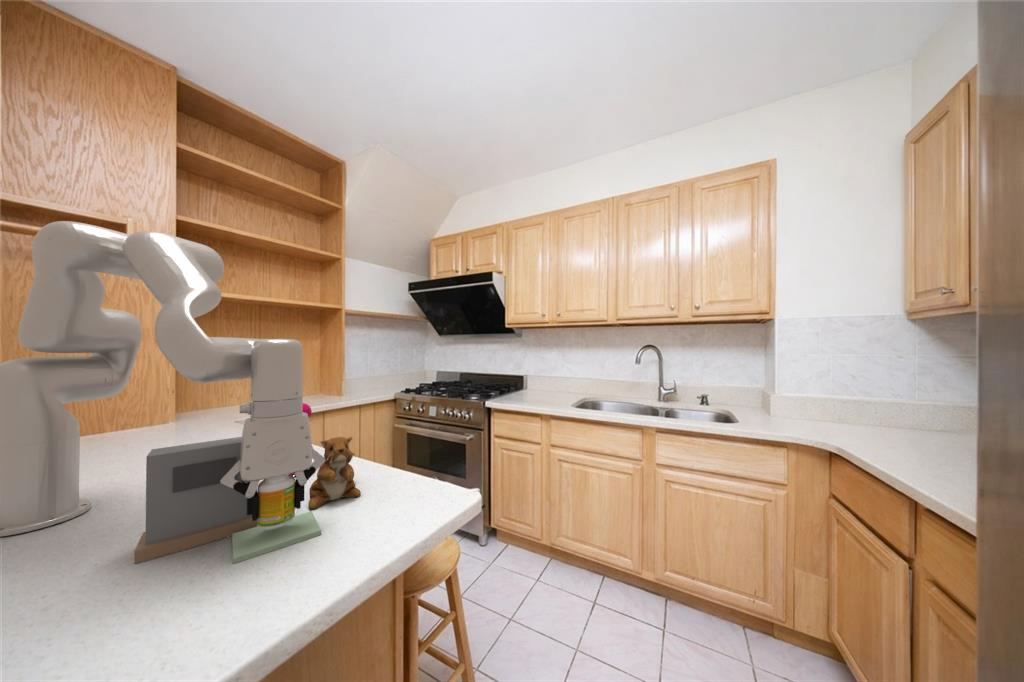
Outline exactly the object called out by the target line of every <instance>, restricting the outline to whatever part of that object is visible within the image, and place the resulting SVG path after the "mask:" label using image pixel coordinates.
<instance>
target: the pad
mask: <svg viewBox="0 0 1024 682" xmlns="http://www.w3.org/2000/svg"><path fill="white" fill-rule="evenodd" d="M321 535H322V529H321V527H320V524H319V523H318V520H317V519H316V517H315V514H314V513H313V511H312V510H311V511H307V512H304V513H303V512H302V513H301V514H300V513H299V514H295V517H294V519H293V520H292V521H291V522H290V523H288V524H286V525H284V526H282V527H279V528H275V529H270V530H262V529H260V528H258V527H254V528H251V529H247V530H244V531H240V532H237V533H233V534H232V536H231V537H232V538H231V541H232V542H231V543H232V546H231V547H232V564H233V565H234V564H237V563H239V562H244V561H246V560H249V559H252V558H255V557H259V556H261V555H265V554H266V553H270V552H274V551H276V550H278V549H282V548H286V547H288V546H292V545H295V544H297V543H300V542H303V541H306V540H310V539H311V538H315V537H318V536H321Z"/></svg>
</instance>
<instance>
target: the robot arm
mask: <svg viewBox="0 0 1024 682" xmlns="http://www.w3.org/2000/svg"><path fill="white" fill-rule="evenodd" d="M31 246H32V247H31V257H32V264H33V280H32V284H31V286H30V290H29V292H28V296H27V299H26V303H25V305H24V308H23V312H22V315H21V319H20V321H19V325H18V329H17V340H18V342H19V344H20V345H21V346H22V347H24V348H25V349H27V350H30V351H32V352H38V353H45V354H46V353H48V354H49V353H51V354H55V353H56V354H90V353H91V354H90V355H86V356H83V355H82V356H79V355H78V356H75V355H73V356H68V355H67V356H66V355H65V356H63V355H61V356H60V355H59V356H33V357H21V358H14V359H9V360H6V361H3V362H1V363H0V538H1V537H8V536H13V535H18V534H24V533H29V532H32V531H36V530H40V529H44V528H47V527H51V526H54V525H58V524H60V523H63V522H65V521H69V520H72V519H74V518H77V517H78V516H80V515H83V514H84V513H86V512H87V511H89V510H90V509H91V507H92V501H91V500H89V499H85V498H80V467H81V466H80V461H81V458H80V457H81V456H80V455H81V454H80V452H81V451H80V450H81V426H80V422H79V420H78V419H77V417H76V416H75V415H74V414H73V413H71V412H70V411H69V410H68V409H66V407H65V406H64V405H65V404H69V403H77V402H84V401H85V402H86V401H94V400H101V399H107V398H111V397H113V396H116V395H118V394H120V393H121V392H122V391H123V390H124V389H125V387H126V386H127V384H128V382H129V380H130V377H131V374H132V371H133V368H134V364H135V361H136V359H137V356H138V353H139V351H140V350H139V349H140V347H141V343H142V339H143V328H142V325H141V323H140V321H139V319H138V318H137V317H136V316H135V315H134V314H132V313H131V312H128V311H126V310H121V309H115V308H106V307H105V308H104V307H103V308H102V305H103V302H104V299H105V296H106V287H105V286H106V285H105V284H104V281H103V280H102V278H101V277H100V275H99V274H98V273H102V274H106V275H107V274H108V275H113V276H118V277H123V278H130V279H136V280H141V281H142V282H143V284H144V285H145V287H146V288H147V289H148V291H149V292H150V293H151V294H152V295H153V296H154V298H155V299H156V300H157V302H158V303H159V304H160V305H161V309H160V310H159V311H158V313H157V315H156V318H155V323H154V336H155V342H156V345H157V347H158V348H159V350H160V352H161V353H162V354H163V356H164V357H165V359H166V360H167V361H168V362H169V364H170V365H171V366H172V367H173V368H174V370H176V371H177V372H178V373H179V374H180V375H181V376H182V377H183V378H185V379H187V380H189V381H192V382H195V383H200V384H201V383H202V384H210V383H217V382H218V383H219V382H227V381H238V380H239V381H240V380H242V381H243V380H250V401H249V402H248V403H245V404H240V405H239V414H246V415H247V414H248V415H250V417H248V418H246V419H245V420H244V425H243V428H242V433H241V434H242V435H241V437H242V440H241V449H240V458H239V459H238V460H237V461H236V462H235V463H234V464H233V465H232V466H231V468H230V469H229V470H228V471H227V472H226V473H225V474H224V475H223V476H222V477H221V479H220V482H221V483H222V484H224V485H226V486H228V487H230V488H233V489H234V490H236V491H238V492H239V493H241V494H243V495H245V496H246V497H247V515H251V514H252V520H253V521H255V520H257V519H258V494H257V492H258V491H257V492H256V489H257V490H258V485H259V483H260V482H261V481H263V480H264V479H268V478H273V477H278V476H283V475H287V474H292V473H295V476H296V477H295V478H296V479H295V509H296V510H299V509H301V508H302V507H301V503H302V502H304V501H305V485H306V484H307V483H308V481H309V480H310V478H311V477H312V476H313V475H314V474H315V473H316V471H317V470H319V468H320V466H321V465H322V464H323V463H324V462H325V458H324V455H321V453H319V452H318V451H317V450H315V449H314V448H312V447H313V445H312V431H311V425H310V424H311V423H310V417H309V418H308V414H307V413H304V412H302V410H303V403H304V402H303V396H304V395H303V386H304V385H303V384H304V381H303V379H304V376H303V375H304V368H303V367H304V349H303V347H304V346H303V345H302V343H301V341H299V340H297V339H292V338H291V339H289V338H255V337H254V338H249V337H231V336H230V337H229V336H228V337H227V336H224V337H223V336H208V334H207V333H205V332H204V330H203V329H202V328H201V327H200V325H199V324H198V323H197V321H196V320H195V319H196V318H199V317H200V316H203V315H206V314H208V313H209V312H211V311H213V310H214V309H215V308H216V307H217V306H218V305H219V304H220V302H221V300H222V292H221V290H220V288H219V286H217V284H216V283H218V282H219V281H220V280H221V279H222V278H223V276H224V274H225V264H224V261H223V258H222V257H221V255H220V254H219V253H218V252H217V251H215V249H213V248H212V247H210V246H208V245H205V244H202V243H199V242H195V241H193V240H188V239H186V238H182V237H178V236H176V235H172V234H169V233H164V232H160V231H159V232H158V231H152V230H150V231H149V230H148V231H138V232H133V233H132V234H128V233H125V232H121V231H118V230H114V229H110V228H106V227H102V226H98V225H94V224H89V223H83V222H77V221H72V220H61V221H59V220H58V221H53V222H50V223H48V224H46V225H44V226H42V227H41V228H40V229H39V230H38V231H37V233H36V234H35V236H34V238H33V241H32V243H31ZM239 471H240V476H241V478H242V480H243V481H247V482H248V483H245V482H243V481H242V480H238V479H237V478H235V475H236V474H237V473H238V472H239Z"/></svg>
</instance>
